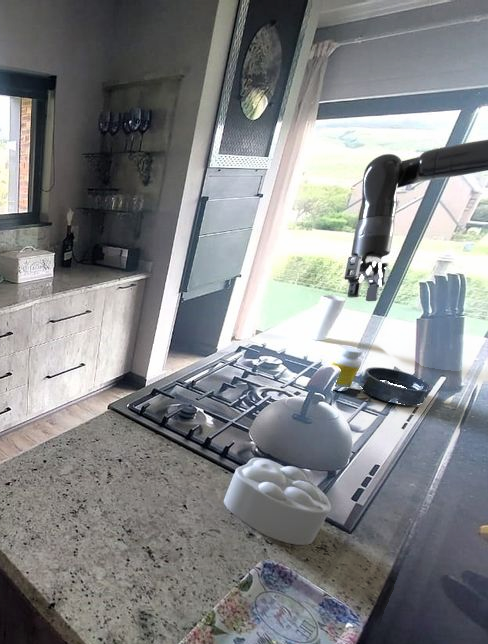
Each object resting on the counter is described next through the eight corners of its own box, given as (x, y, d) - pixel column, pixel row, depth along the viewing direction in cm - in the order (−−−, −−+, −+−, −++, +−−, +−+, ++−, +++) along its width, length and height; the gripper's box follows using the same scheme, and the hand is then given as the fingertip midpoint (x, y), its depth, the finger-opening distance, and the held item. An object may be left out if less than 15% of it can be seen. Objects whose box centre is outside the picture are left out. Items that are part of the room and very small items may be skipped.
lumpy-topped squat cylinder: (247, 482, 77) (262, 446, 73) (325, 528, 68) (348, 490, 64) (216, 503, 72) (231, 466, 68) (296, 557, 63) (319, 517, 59)
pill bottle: (349, 395, 108) (369, 356, 103) (319, 388, 111) (337, 350, 106) (345, 385, 113) (364, 347, 108) (317, 379, 116) (334, 342, 111)
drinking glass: (307, 340, 142) (325, 299, 135) (302, 333, 148) (318, 293, 141) (330, 343, 140) (349, 301, 133) (323, 336, 146) (341, 296, 139)
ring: (428, 398, 107) (438, 382, 105) (413, 413, 101) (424, 396, 98) (366, 378, 117) (374, 363, 115) (349, 390, 110) (357, 374, 108)
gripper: (375, 229, 100) (364, 295, 102) (405, 239, 106) (394, 301, 107) (340, 235, 107) (330, 297, 109) (370, 244, 113) (360, 302, 114)
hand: (362, 299), depth 108 cm, fingers open, 8 cm apart
